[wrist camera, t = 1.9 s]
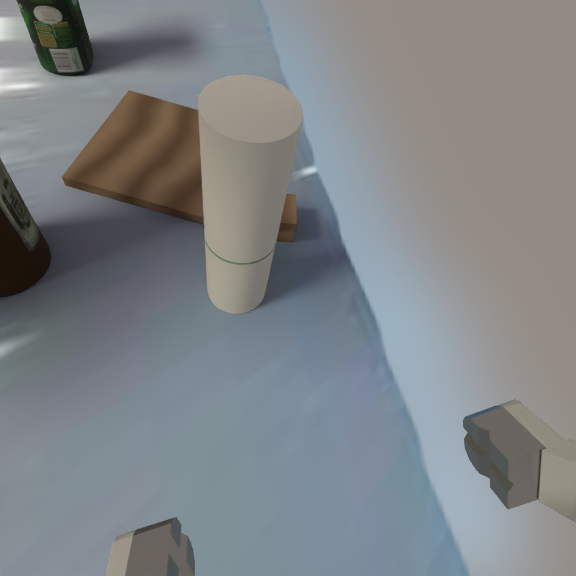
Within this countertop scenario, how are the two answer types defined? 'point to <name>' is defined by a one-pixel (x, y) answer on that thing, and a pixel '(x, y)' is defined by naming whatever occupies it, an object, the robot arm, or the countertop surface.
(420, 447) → the countertop surface
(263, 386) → the countertop surface
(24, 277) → the olive oil
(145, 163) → the board
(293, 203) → the walnut block
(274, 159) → the cylindrical container
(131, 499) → the countertop surface
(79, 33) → the coffee jar
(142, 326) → the countertop surface
